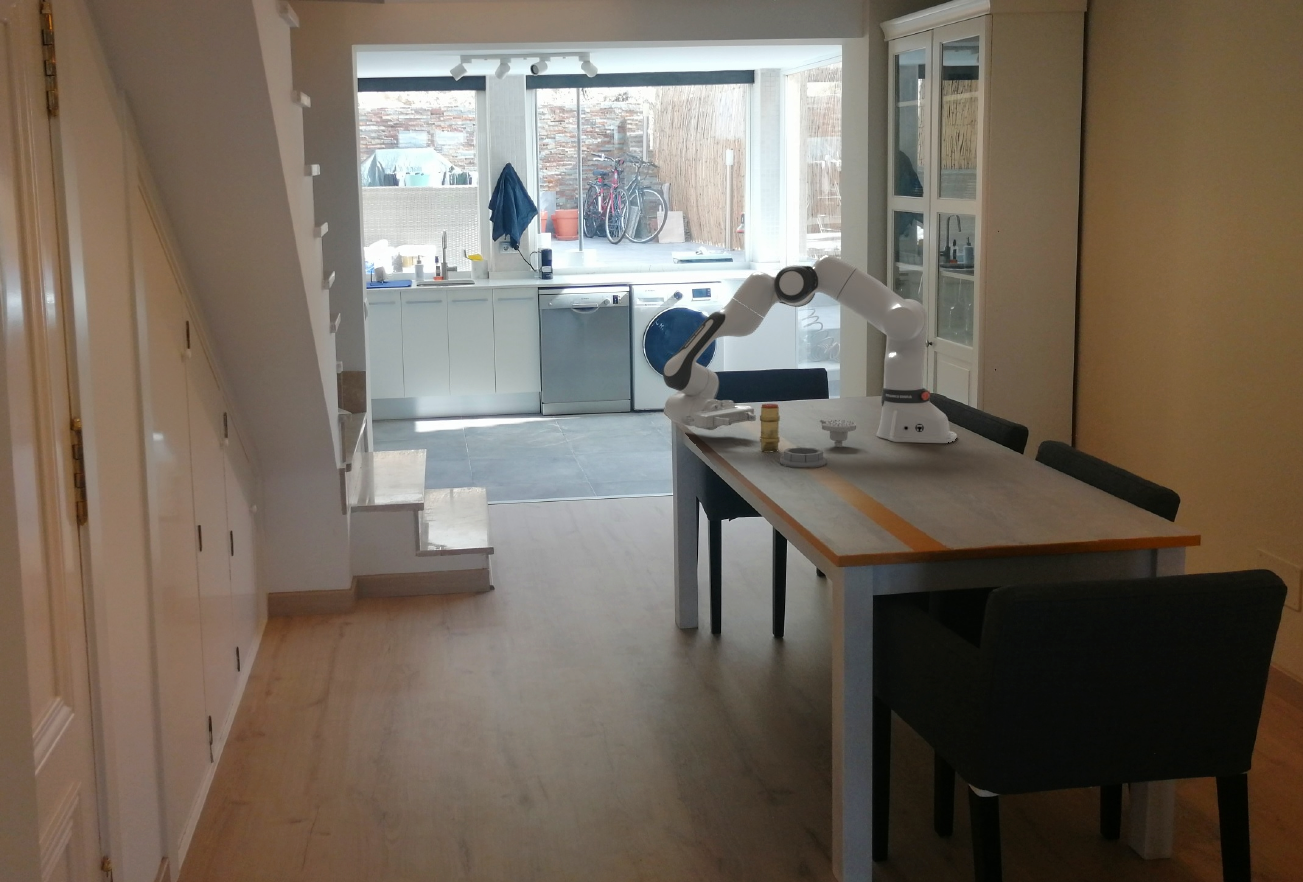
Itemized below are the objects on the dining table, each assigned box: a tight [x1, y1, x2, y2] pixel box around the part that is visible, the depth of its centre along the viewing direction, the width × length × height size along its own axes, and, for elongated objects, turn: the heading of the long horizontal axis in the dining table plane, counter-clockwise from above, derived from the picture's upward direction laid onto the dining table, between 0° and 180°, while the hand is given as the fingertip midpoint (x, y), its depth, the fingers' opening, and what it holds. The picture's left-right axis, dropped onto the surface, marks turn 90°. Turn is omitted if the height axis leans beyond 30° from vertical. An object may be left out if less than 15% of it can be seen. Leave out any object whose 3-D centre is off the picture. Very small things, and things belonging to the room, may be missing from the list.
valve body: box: [759, 403, 781, 452], centre depth 342 cm, size 5×5×13 cm
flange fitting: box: [779, 446, 827, 468], centre depth 327 cm, size 12×12×3 cm
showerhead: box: [819, 419, 857, 448], centre depth 348 cm, size 9×7×10 cm
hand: (741, 420), depth 350 cm, fingers open, 8 cm apart
